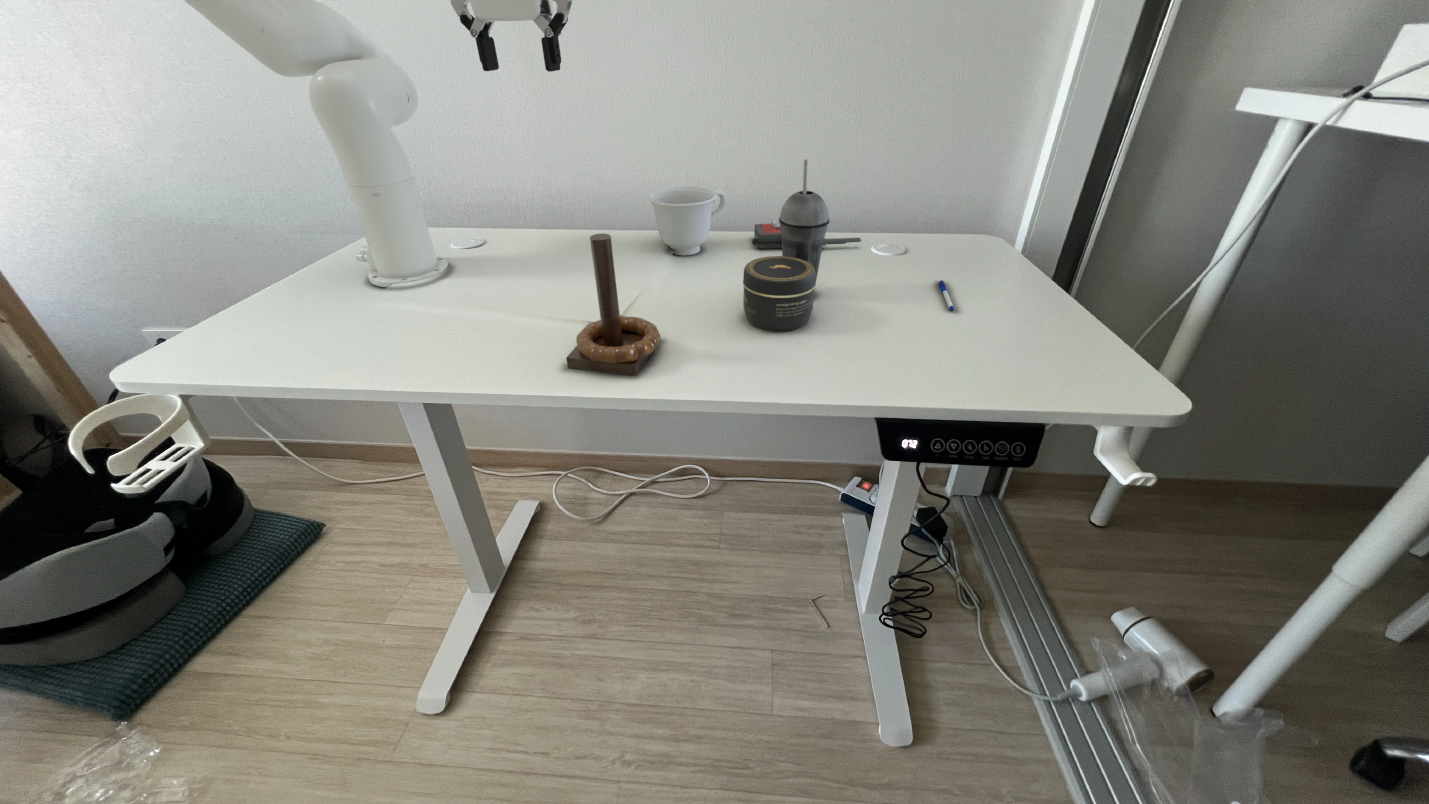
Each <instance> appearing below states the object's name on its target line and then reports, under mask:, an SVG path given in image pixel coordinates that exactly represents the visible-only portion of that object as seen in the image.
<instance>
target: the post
mask: <svg viewBox="0 0 1429 804" xmlns="http://www.w3.org/2000/svg"><path fill="white" fill-rule="evenodd" d="M589 241H590V249H591V258H592V265H593V271H594V278H595V279H594V280H595V287H596V294H597V302H598V309H599V317H600V320H601V325H602V333H603V335H602V336H600V337H598V338H596V339H595V340H594V341H593V342H594V343H596V344H598V345H599V346H608V347H619V346H626V345H631V344H633V343H636V342H638V341H640V340H642V339H643V337H644V336H643V335H640V334H638V333H636V332H626V331H622V330H621V322H620V316H621V313H620V304H619V296H618V290H617V289H618V288H617V278H616V270H615V269H616V268H615V261H614V252H613V242H612V236H611V235H610V234H609V233H595V234H592V235H590V236H589ZM650 355H651V354H649V355H647V356H644V357H642V358H640V359H638V360H636V361H631V362H624V363H617V364H611V363H603V362H595V361H593V360H591V359H589V358H587V357H586V356H584V355H582V354H581V353H580V352H579V351H578V346H577V345H576V346H575V347H574V348H573V349H572V350H571V352H570V353H569V354H567V356H566V363H567V364H566V365H567V368H569V369H577V370H584V371H592V372H593V371H594V372H601V373H603V372H604V373H610V374H619V375H627V376H637V374H638V373H639V371H640V370H641V368H642V367H643V366H644V364H645V362H646V361H647V360H648V358H649V356H650Z"/></svg>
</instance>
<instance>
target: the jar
mask: <svg viewBox="0 0 1429 804" xmlns="http://www.w3.org/2000/svg"><path fill="white" fill-rule="evenodd" d="M815 278H816V271H815V268H814V266H813V265H812V264H810V263H809V262H807V261H805V260H802V259H799V258H794V257H787V256H782V255H772V256H771V255H770V256H763V257H759V258H756V259H753V260H751V261H749V262H747V263H746V264H745V266H744V268H743V277H742V285H743V305H742V306H743V311H744V316H745V319H746V320H747V321H748V322H749V323H750V324H751V325H752V326H753V327H755V328H757V329H761V330H763V331H769V332H789V331H790V332H791V331H794V330H798V329H800V328H802V327H803V326H804V325H806V324H807V323H808V321H809V319H810V317H811V315H812V312H813V308H814V295H815V289H816V284H817V281H816V282H815Z"/></svg>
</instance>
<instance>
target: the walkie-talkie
mask: <svg viewBox="0 0 1429 804" xmlns="http://www.w3.org/2000/svg"><path fill="white" fill-rule="evenodd" d="M753 233H754V236H753V237H754V238H753V239H752V240H751V244H752V245H754V246H757V247H758V248H759V249H763V250H764V249H765V250H767V249H782V235H781V231H780V222H777V221H776V220H775V219H771V223H754V232H753ZM847 243H862V239H861V237H838V238H825V237H824V240H823V246H826V245H846V244H847Z"/></svg>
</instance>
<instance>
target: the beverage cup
mask: <svg viewBox="0 0 1429 804" xmlns="http://www.w3.org/2000/svg"><path fill="white" fill-rule="evenodd" d="M808 161H809V160H808V159H804V160H803V176H802V177H803V180H802V181H803V182H802V190H800V191H797V192H795V193H793V194H792V195H790V196H789V197H788V198H787V200H785V202H784V203H783V205H782V207H781V210H780V212H779V213H780V215H779V218H778V223H780V231H781V235H782V248H781V256H787V257H794V258H799V259H802V260H805V261H807V262H809V263H810V264H812V265H813V266H814V268H815V271H816V278H815V282H816V283H817V279H818V274H819V268H820V263H821V262H820V261H821V256H822V250H823V246H824V245H823V240H824V238H825V237H826V234H827V230H828V226H829V224H830V217H829V216H830V215H829V209H828V206H827V203H826V202H825V200H824V199H823V197H821V195H820V194H818V193H817V192H814V191H812V190H807V187H808V186H807V185H808Z"/></svg>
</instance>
